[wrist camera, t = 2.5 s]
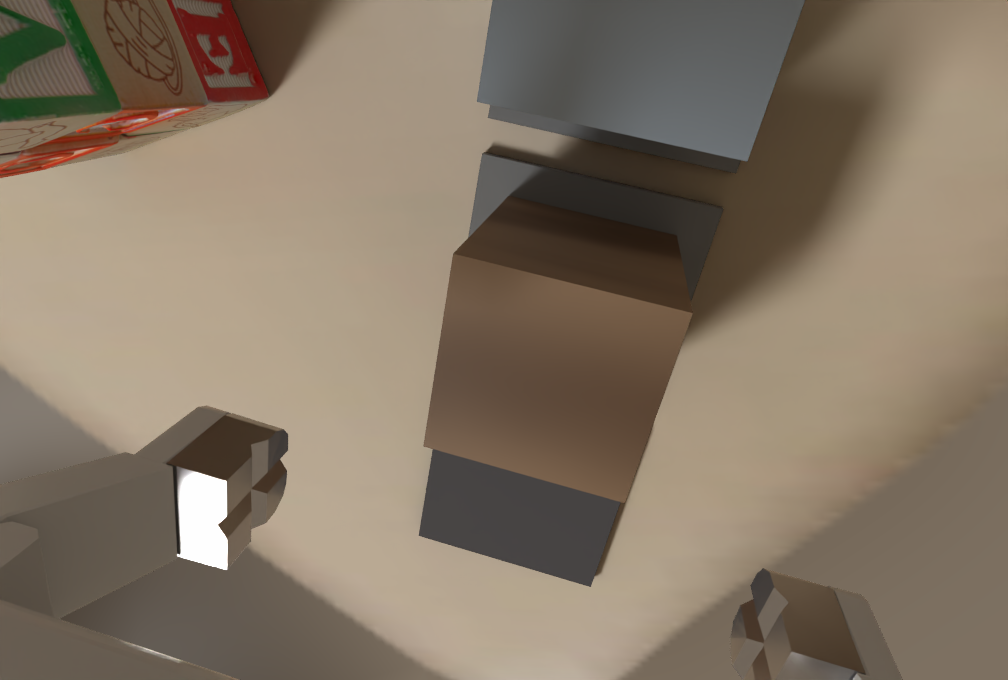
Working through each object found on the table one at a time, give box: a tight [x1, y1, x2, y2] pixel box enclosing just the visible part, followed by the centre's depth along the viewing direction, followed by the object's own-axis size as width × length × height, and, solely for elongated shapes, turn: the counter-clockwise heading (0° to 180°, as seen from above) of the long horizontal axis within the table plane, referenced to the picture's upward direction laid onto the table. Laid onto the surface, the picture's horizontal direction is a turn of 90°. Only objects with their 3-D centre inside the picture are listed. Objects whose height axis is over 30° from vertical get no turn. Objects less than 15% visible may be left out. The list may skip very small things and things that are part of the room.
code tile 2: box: [488, 105, 741, 173], centre depth 15 cm, size 7×7×1 cm
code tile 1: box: [468, 152, 723, 301], centre depth 19 cm, size 7×7×1 cm
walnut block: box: [424, 196, 693, 503], centre depth 16 cm, size 5×5×6 cm
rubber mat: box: [419, 449, 620, 587], centre depth 23 cm, size 7×7×1 cm
